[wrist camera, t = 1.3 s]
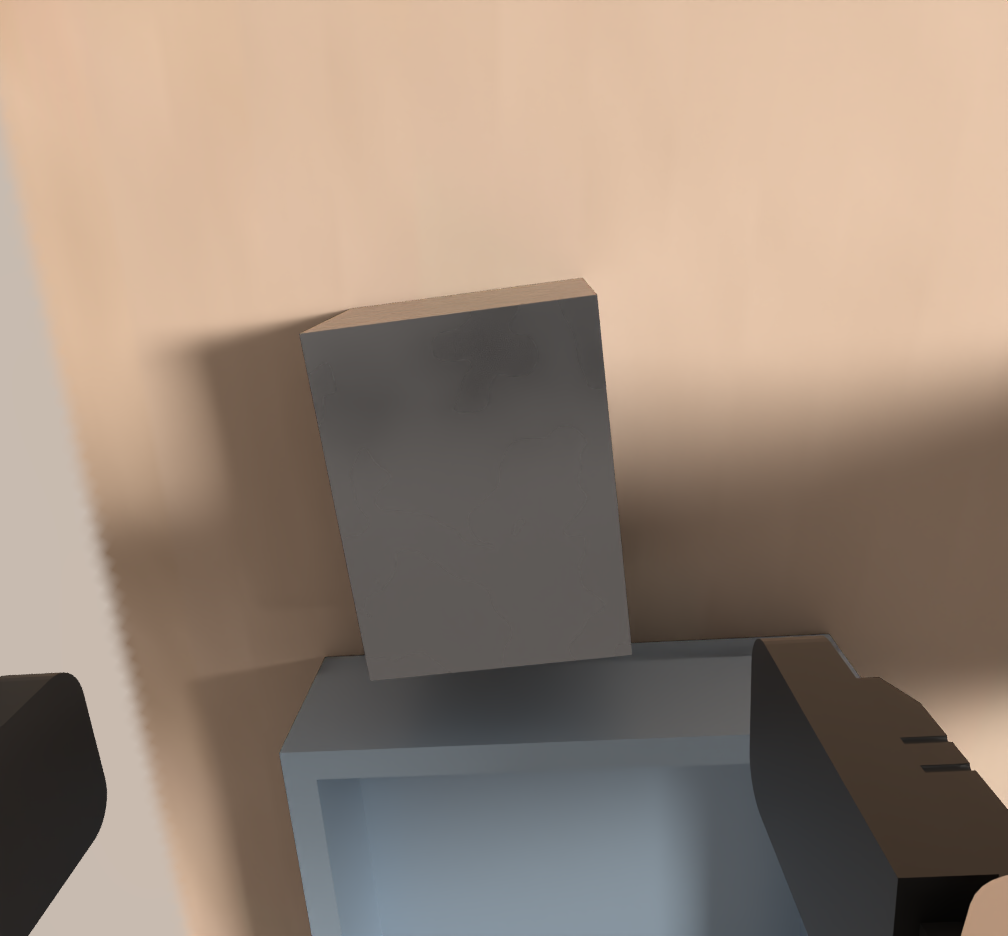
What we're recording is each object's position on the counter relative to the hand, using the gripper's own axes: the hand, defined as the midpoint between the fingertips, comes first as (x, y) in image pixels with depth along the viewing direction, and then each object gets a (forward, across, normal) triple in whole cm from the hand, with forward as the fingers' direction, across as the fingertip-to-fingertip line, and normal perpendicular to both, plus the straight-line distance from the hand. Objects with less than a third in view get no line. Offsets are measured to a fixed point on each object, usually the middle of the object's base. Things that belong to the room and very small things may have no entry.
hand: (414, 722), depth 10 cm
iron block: (+13, 0, 0) cm, 13 cm away
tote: (+13, -2, +14) cm, 19 cm away
